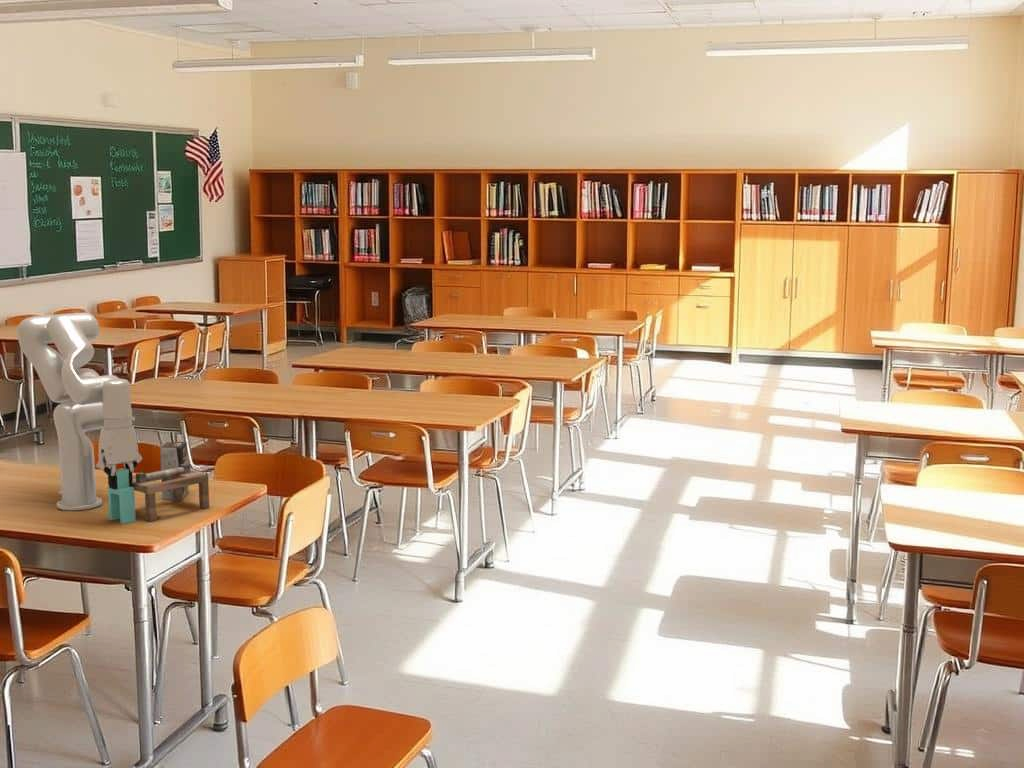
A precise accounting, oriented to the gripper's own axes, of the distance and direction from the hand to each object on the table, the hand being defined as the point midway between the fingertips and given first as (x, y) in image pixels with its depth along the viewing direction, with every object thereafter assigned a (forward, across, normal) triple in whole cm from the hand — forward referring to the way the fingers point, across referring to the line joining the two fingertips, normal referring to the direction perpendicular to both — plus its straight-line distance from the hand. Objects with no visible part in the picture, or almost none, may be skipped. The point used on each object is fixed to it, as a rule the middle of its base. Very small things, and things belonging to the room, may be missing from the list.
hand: (120, 486), depth 320 cm
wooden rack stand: (+10, -14, 0) cm, 17 cm away
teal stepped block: (+10, 0, 0) cm, 10 cm away
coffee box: (+10, -26, -12) cm, 30 cm away
